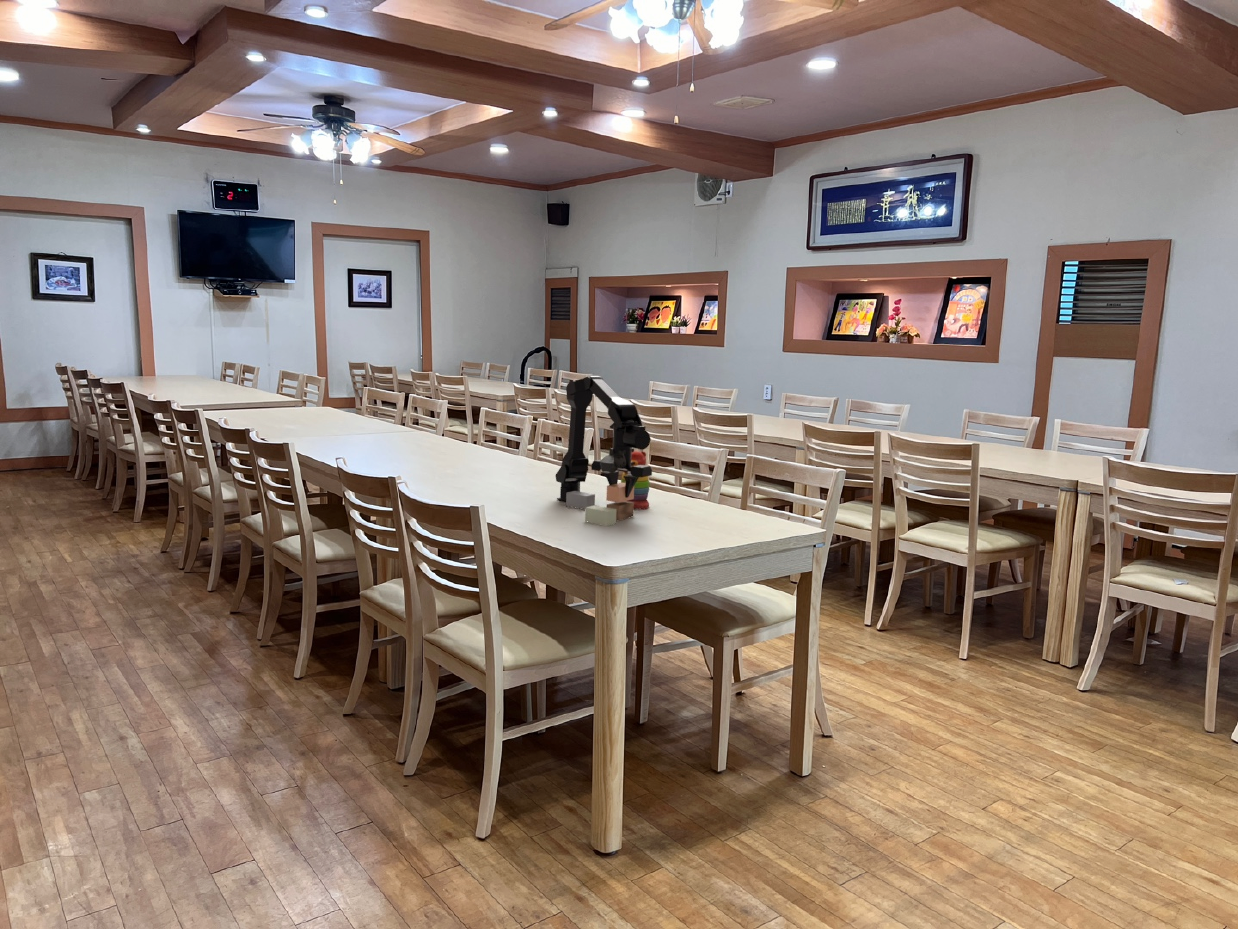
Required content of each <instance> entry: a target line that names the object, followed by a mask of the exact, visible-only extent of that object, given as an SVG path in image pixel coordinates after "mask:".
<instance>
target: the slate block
mask: <svg viewBox="0 0 1238 929" xmlns="http://www.w3.org/2000/svg"><path fill="white" fill-rule="evenodd" d="M565 502H566V503H565V507H568V506H570V507H569V508H574V507H576V508H575V509H579V508H581V509H580V510H585V508H586V507H590V506H594V505H596V494H595V493H590V492H584V491H580V492H579V491H572V492H568V493H566V501H565Z"/></svg>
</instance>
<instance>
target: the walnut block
mask: <svg viewBox="0 0 1238 929" xmlns="http://www.w3.org/2000/svg"><path fill="white" fill-rule="evenodd" d="M606 507H607V508H612V509H616V521H617V520H618V521H622V519H623V520H625V519H626V520H627V519H630V518H633V517H634V509H635V508H634V503H633V502H627V501H623V502H619V503H618V502H610V503H606ZM632 516H633V517H632ZM629 517H630V518H629Z"/></svg>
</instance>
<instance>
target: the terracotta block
mask: <svg viewBox="0 0 1238 929" xmlns="http://www.w3.org/2000/svg"><path fill="white" fill-rule="evenodd" d="M625 484H626V483H621V482H618V483H617V484H613V485H609V484H608V485H606V497H605V498H606V500H605V501H608V502H611V503H614V502H618V503H619V502H623V501H627V500H632V499H634V487H633V489H632V491H631V493H630V495H629V497H627V498H626V497H625Z"/></svg>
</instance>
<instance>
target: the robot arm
mask: <svg viewBox="0 0 1238 929" xmlns="http://www.w3.org/2000/svg"><path fill="white" fill-rule="evenodd" d="M565 390H566V391H565V392H566V400H567V402H568V405H570V418H569V419H570V421H569V431H568V432H569V434H568V446H567V451H566V453H565V455H564V456H563V457H562V458H561V459H562V461H561V466H560V468H559V469H558V470H557V472H556V473H555V481H556V482H558V483H560V491H559V492H560V494H559V495H560V496H559V497H556V500H557V501H563V502H566V493H568V492H572V491H579V492H581V483H585V482H586V480H587V479H586V478H587V475H588V472H589V462H590V461H589V458H587V457H586V455H585V453H584V446H585V433H586V419H587V418H586V417H587V408H588V407H589V406H590V404H591V402H592V401H593V396H595V397H596V398H598V400H599V401H600V402H601V403H602V404H603V405H604V406H605V407H606V409H607V414H608V416H609V418H610V419H611V421H612V424H610V426H609V429H611V430H612V431H613V432H612V433H613V434H612V448H611V447H610V449H609V453H608V455H605V456H604V457H603V458H601V459H596V460H593V461H592V463H591V471H598V472H599V471H601V472H600V474H601V475H603V476H604V477H605V478H606V481H607V483H608V485H613V484H617V483H619V482H618V481H619V472H623V473H624V472H628V475H627V476H624V478H625V480H626V484H625V497H626V498H627V497H629V495H630V493H631V491H632V489H633V487H634V485H635V483H636V481H637V480H638V478H639V477H646V476H648V477H651V476H652V475H653V469H652V467H651V466H650V465H646V464H645V465H637V466H632V465H633V464H634V462H631V453H632V452H634V451H635V449H636V450H641V451H642V450H643V451H644V450H646V449H647V448H648V447H649V445H650V443H651V436H650V433H649V432H648V430H646V426H644V425H643V423H642V419H641V417H640V415H639V412H638V409H637V407H636V405H635V404H634V403H633V402H631V401H630V400H627V399H625V398H621V397H620V396H619V395H618V394H617V393H616V392H615V391H614V390H613V389H612V388H611V387H610V386H609V384H607V383H606V382H605V380H604V379H603V377H602V376H600V375H588V376H586V377H582V378H579V379H577V380H569V382H568V383H567V384H566V388H565Z"/></svg>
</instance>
